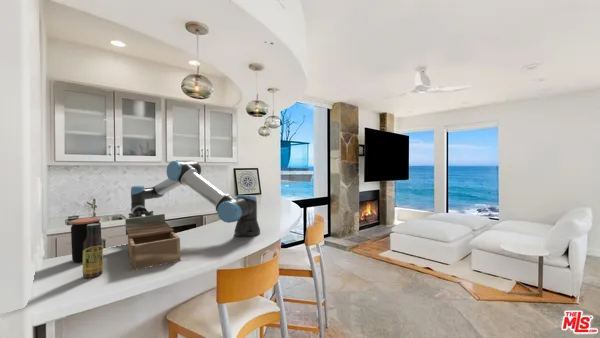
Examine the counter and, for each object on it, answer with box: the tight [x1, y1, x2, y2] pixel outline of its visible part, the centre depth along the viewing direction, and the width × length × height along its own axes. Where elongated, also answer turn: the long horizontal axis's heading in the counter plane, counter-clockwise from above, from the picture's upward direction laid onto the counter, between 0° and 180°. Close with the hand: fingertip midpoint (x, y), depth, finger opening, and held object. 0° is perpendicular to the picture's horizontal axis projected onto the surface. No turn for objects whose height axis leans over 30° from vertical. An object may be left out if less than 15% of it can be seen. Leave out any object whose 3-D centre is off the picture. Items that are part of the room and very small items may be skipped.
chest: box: [127, 232, 181, 271], centre depth 123 cm, size 22×18×10 cm
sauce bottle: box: [82, 224, 104, 279], centre depth 104 cm, size 6×6×20 cm
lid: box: [124, 213, 175, 238], centre depth 134 cm, size 25×18×8 cm
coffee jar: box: [70, 217, 102, 264], centre depth 123 cm, size 11×11×18 cm
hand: (144, 218), depth 147 cm, fingers closed
